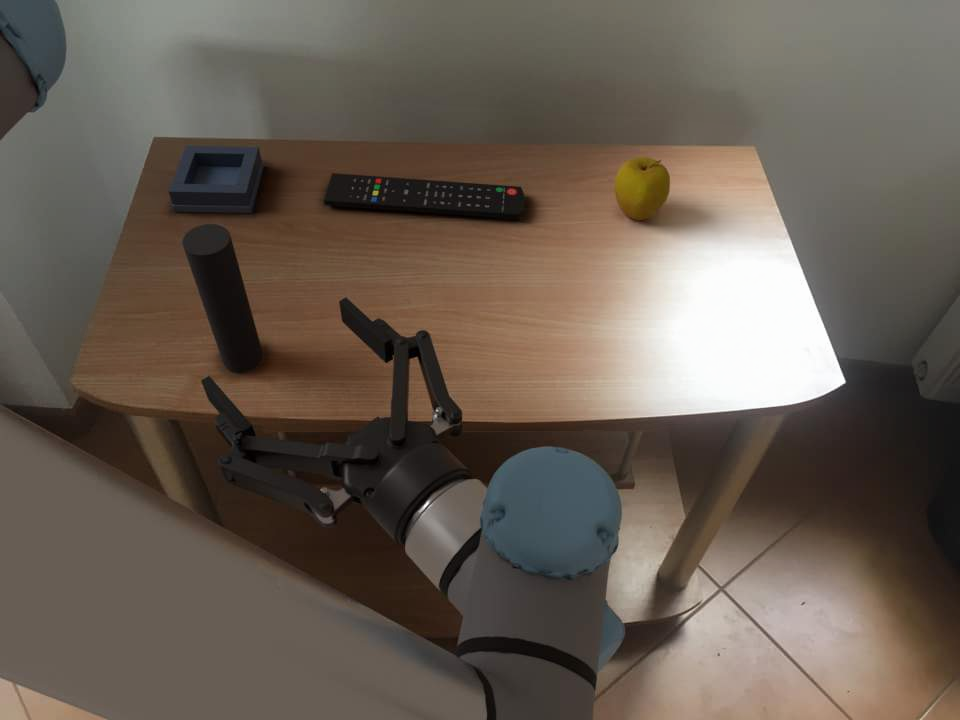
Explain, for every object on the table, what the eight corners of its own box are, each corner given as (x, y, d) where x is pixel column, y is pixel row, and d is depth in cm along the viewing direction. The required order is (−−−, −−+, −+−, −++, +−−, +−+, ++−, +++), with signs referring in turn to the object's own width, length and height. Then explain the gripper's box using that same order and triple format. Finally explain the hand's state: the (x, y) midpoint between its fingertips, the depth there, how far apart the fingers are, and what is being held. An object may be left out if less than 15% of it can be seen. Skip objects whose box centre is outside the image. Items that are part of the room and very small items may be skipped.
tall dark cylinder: (218, 372, 78) (176, 253, 66) (228, 342, 81) (189, 222, 69) (258, 374, 78) (224, 256, 66) (266, 343, 81) (235, 224, 69)
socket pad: (173, 212, 93) (166, 191, 91) (190, 164, 99) (184, 144, 97) (251, 213, 94) (246, 193, 91) (264, 166, 100) (259, 146, 97)
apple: (672, 218, 96) (688, 164, 90) (633, 236, 94) (646, 182, 87) (638, 190, 99) (651, 136, 93) (599, 207, 97) (609, 152, 91)
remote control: (333, 182, 98) (332, 173, 97) (524, 195, 98) (525, 187, 97) (325, 209, 95) (323, 200, 94) (523, 223, 94) (524, 214, 93)
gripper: (304, 643, 55) (158, 451, 65) (552, 447, 66) (395, 308, 76) (287, 600, 49) (129, 397, 59) (562, 393, 60) (391, 250, 70)
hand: (279, 346), depth 67 cm, fingers open, 13 cm apart
